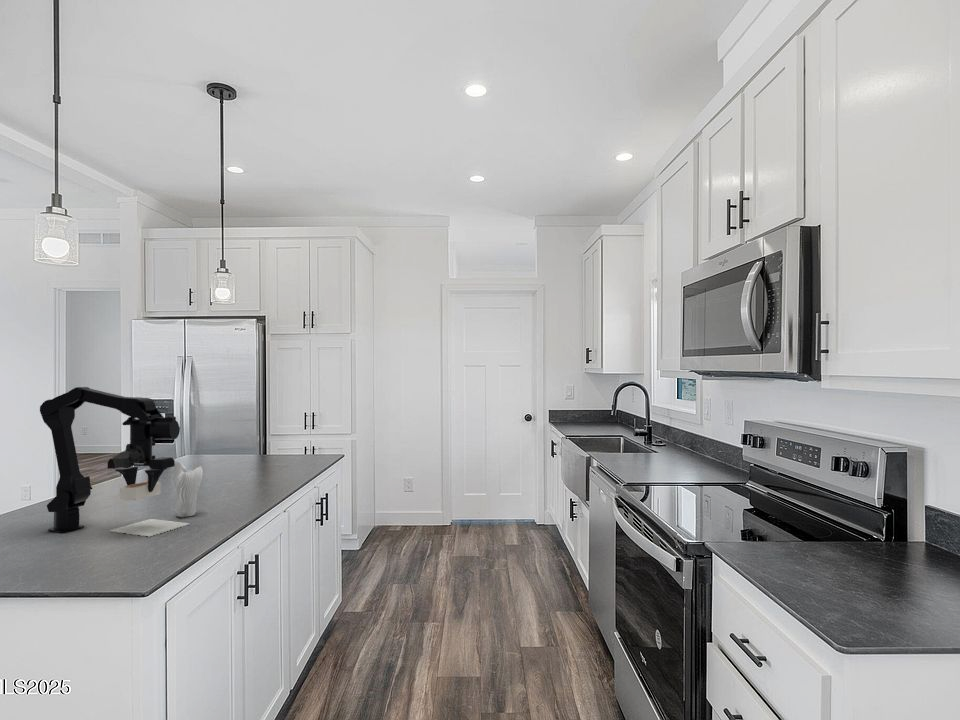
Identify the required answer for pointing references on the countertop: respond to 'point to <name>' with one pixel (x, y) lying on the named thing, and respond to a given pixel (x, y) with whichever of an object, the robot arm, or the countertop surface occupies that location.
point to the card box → (139, 491)
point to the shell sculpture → (186, 489)
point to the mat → (149, 527)
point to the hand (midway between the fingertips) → (141, 491)
